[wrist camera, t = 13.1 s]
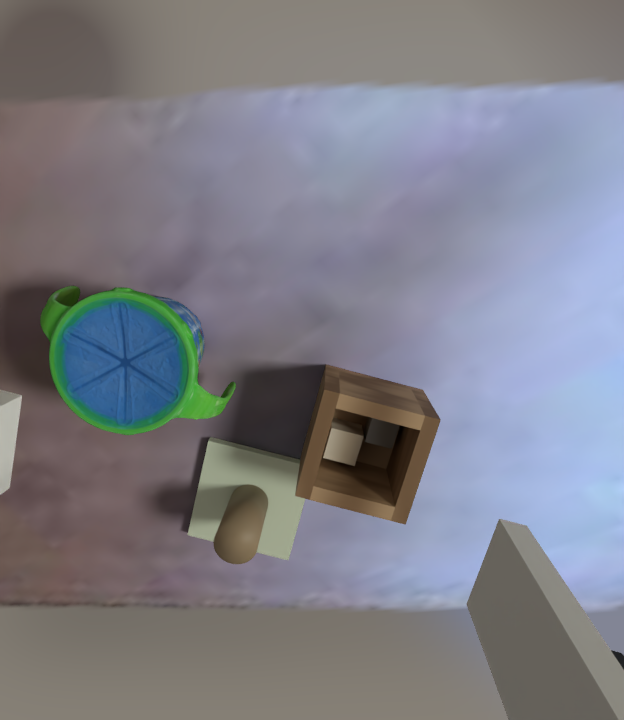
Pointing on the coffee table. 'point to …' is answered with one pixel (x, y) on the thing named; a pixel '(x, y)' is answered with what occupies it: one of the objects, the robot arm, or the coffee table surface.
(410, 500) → the box
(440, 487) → the coffee table surface
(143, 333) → the snack cup
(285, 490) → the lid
